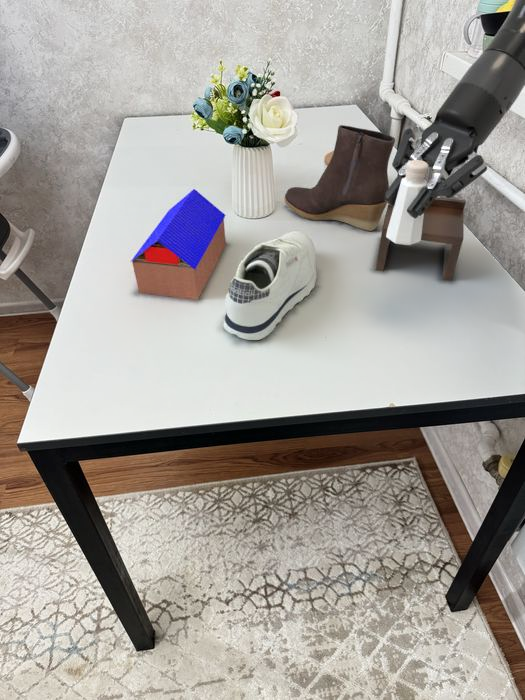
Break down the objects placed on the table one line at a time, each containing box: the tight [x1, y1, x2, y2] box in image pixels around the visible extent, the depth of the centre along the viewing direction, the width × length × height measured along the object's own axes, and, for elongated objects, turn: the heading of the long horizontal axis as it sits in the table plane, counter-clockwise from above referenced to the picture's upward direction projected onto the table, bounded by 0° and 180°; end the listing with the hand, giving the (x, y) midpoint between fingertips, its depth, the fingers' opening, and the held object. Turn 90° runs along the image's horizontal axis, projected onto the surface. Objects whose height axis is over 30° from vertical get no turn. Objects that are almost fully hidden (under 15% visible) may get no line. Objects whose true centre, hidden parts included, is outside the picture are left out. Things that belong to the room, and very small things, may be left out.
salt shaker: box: [386, 159, 429, 246], centre depth 69 cm, size 5×5×11 cm
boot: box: [284, 124, 396, 232], centre depth 104 cm, size 9×24×20 cm, turn 58°
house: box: [130, 188, 227, 301], centre depth 92 cm, size 12×20×12 cm, turn 168°
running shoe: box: [222, 230, 318, 341], centre depth 85 cm, size 11×29×12 cm, turn 158°
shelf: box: [375, 196, 467, 282], centre depth 94 cm, size 14×12×10 cm
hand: (399, 208), depth 69 cm, fingers closed on salt shaker, 3 cm apart
